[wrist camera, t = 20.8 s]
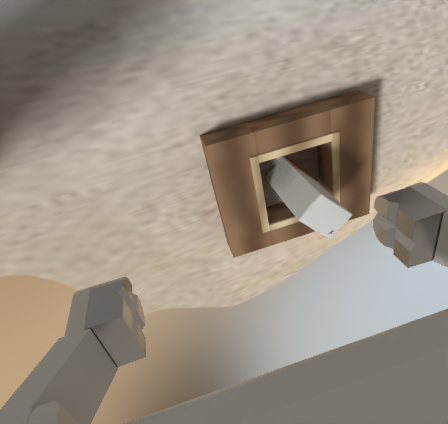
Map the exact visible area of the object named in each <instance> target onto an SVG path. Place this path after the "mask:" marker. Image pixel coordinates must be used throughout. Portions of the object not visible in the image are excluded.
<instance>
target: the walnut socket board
mask: <svg viewBox="0 0 448 424" xmlns="http://www.w3.org/2000/svg"><path fill="white" fill-rule="evenodd" d="M374 112H375V97H374V96H371V95H368V94H366V93H363V92H360V91H358V90H356V91H353V92H349V93H346V94H343V95H339V96H336V97H332V98H329V99H325V100H322V101H318V102H315V103H311V104H308V105H304V106H301V107H297V108H294V109H291V110H287V111H284V112H280V113H277V114H273V115H270V116H266V117H263V118H259V119H256V120H252V121H249V122H245V123H242V124H239V125H235V126H232V127H228V128H225V129H221V130H218V131H214V132H211V133H207V134H204V135H200V139H201V142H202V146H203V150H204V154H205V158H206V162H207V166H208V169H209V173H210V177H211V181H212V185H213V189H214V193H215V196H216V200H217V204H218V208H219V212H220V216H221V220H222V223H223V227H224V231H225V235H226V239H227V242H228V245H229V247H230V250H231V252H232V255H233V257H237V256H240V255H243V254H246V253H250V252H253V251H256V250H259V249H262V248H265V247H268V246H271V245H274V244H277V243H280V242H283V241H287V240H290V239H293V238H296V237H299V236H302V235H305V234H308V233H311V232H314V230H313V229H312V228H310V227H308V226H307V225H305V224H303V223H302V222H300V221H299V220H298V219H297V218H296V217H295V215H294V214H293V213H292V212H291V210H290V209H289V208H288V207H287V205H286V204H285V203H281V204H278V205H274V206H271V207H268V208H266V204H265V197H264V191H263V185H262V179H261V173H260V166H259V163H261V162H265V161H268V160H271V159H275V158H278V157H281V156H285V155H288V154H291V153H295V152H298V151H301V150H304V149H308V148H311V147H314V146H318V165H319V184H320V185H321V186H322V187H324V188H325V189H326V190H327V191H328V192H329V193H330V194H331V195H332V196H333V197H334V198H335V199H337V200H338V201H339V202H340V203H341V204H342V205H343V206H344V207H345V208H346V209H347V210H348V211H349V212H351V213H352V216H351V217H350V219H349V220H351V219H355V218H358V217H361V216H364V215H367V214H369V208H370V189H371V169H372V150H373V131H374Z"/></svg>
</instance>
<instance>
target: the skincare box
mask: <svg viewBox="0 0 448 424" xmlns="http://www.w3.org/2000/svg"><path fill="white" fill-rule="evenodd" d="M265 179H266V180H267V182H268V183H269V184H270V185H271V187H272V188H273V189H274V190H275V192H276V193H277V194H278V195H279V197H280V198H281V199H282V200H283V202H284V203H285V204H286V205H287V207H288V208H289V209H290V210H291V212H292V213H293V214H294V215H295V217H296V218H297V219H298V220H299V221H300V222H302V223H303V224H305V225H307V226H308V227H310V228H312V229H313V230H314V231H316V232H318V233H320V234H322V235H323V236H325V237H327V238H329V239H331V238H332V237H333V236H334V235H335V234H336V233H337V232H338V231H339V229H340V228H341V227H342V226H343V225H344V224H345V223H346V222H347V221H348V220H349V219H350V217H351V216H352V213H351V212H349V211H348V210H347V209H346V208H345V207H344V206H343V205H342V204H341V203H340V202H339V201H338V200H337V199H335V198H334V197H333V196H332V195H331V194H330V193H329V192H328V191H327V190H326V189H325V188H324V187H322V186H321V185H320V184H319V183H318V182H317V181H316V180H315V179H314V178H313V177H312V176H311V175H309V174H308V173H306V172H305V171H303V170H302V169H300V168H299V167H297V166H296V165H294V164H293V163H292V162H290V161H289V160H288V159H286V158H285V157H284V156H282V157H281V158H280V159H279V160H278V162H277V163H276V164H275V166H274V167H273V168H272V169H271V171H270V172H269V173H268V175H267V176H266V177H265Z"/></svg>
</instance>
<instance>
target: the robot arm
mask: <svg viewBox="0 0 448 424" xmlns="http://www.w3.org/2000/svg"><path fill="white" fill-rule="evenodd" d="M374 208H375V210H376V211H377V212H378V213H377V215H376V216H375V218H374V219H373V228H374V231H375V234H376V236H377V238H378V239H379V241H380V242H381V243H382V244H383V245H384V246H387V247H390V248H393V250H394V255H395V256H396V257H397V258H398V259H399V260H400V261H401V262H402V263H403V264H404V265H406V266H407V267H408V268H409V267H412V266H416V265H419V264H422V263H425V262H429V261H432V260H434V262H437V263H439V264H441V265H444V266H446V267H448V196H447V195H445V194H443V193H441V192H440V191H438V190H436V189H435V188H433V187H431V186H430V185H428V184H426V183H422V182H420V183H417V184H414V185H411V186H408V187H406V188H403V189H400V190H397V191H394V192H391V193H388V194H385V195H382V196H379V197H377V198H376V200H375V203H374ZM144 326H145V320H144V313H143V308H142V305H141V303H140V300H139V298H138V296H137V295H135V294H133V293H132V285H131V283H130V281H129V279H128V278H127V277H123V278H119V279H116V280H112V281H109V282H106V283H102V284H99V285H95V286H93V287H89V288H86V289H83V290H79V291H76V292H75V294H74V295H73V299H72V304H71V308H70V313H69V318H68V323H67V327H66V332H65V337H62V338H59V340H58V341H57V342H56V343H55V344H54V346H53V347H52V348H51V349H50V350H49V352H48V353H47V354H46V355H45V356H44V358H43V359H42V360H41V361H40V362H39V364H38V365H37V366H36V367H35V368H34V370H33V371H32V372H31V373H30V375H29V376H28V377H27V378H26V380H25V381H24V382H23V383H22V384H21V385H20V387H19V388H18V389H17V390H16V391H15V393H14V394H13V395H12V396H11V397H10V399H9V400H8V401H7V402H6V403H5V405H4V406H3V407H2V409H1V410H0V424H91V422H92V420H93V418H94V416H95V414H96V412H97V410H98V408H99V406H100V404H101V402H102V400H103V398H104V396H105V394H106V392H107V390H108V388H109V386H110V384H111V382H112V380H113V378H114V376H115V374H116V372H117V370H118V368H117V367H120V366H123V365H125V364H128V363H130V362H133V361H136V360H139V359H141V358H144V357H146V342H145V336H144V334H143V332H142V329H143V327H144ZM125 424H448V309H446V310H443V311H440V312H438V313H435V314H432V315H429V316H426V317H423V318H421V319H418V320H415V321H412V322H409V323H407V324H404V325H401V326H398V327H395V328H392V329H390V330H387V331H384V332H381V333H378V334H376V335H373V336H370V337H367V338H364V339H361V340H359V341H356V342H353V343H350V344H347V345H345V346H342V347H339V348H336V349H333V350H330V351H328V352H325V353H322V354H319V355H317V356H314V357H311V358H308V359H305V360H302V361H299V362H297V363H294V364H291V365H288V366H285V367H283V368H280V369H277V370H274V371H271V372H268V373H265V374H263V375H260V376H257V377H254V378H251V379H249V380H246V381H243V382H240V383H237V384H235V385H232V386H229V387H226V388H224V389H220V390H218V391H215V392H212V393H209V394H207V395H204V396H201V397H198V398H195V399H192V400H189V401H187V402H184V403H181V404H178V405H175V406H173V407H170V408H167V409H164V410H161V411H158V412H156V413H153V414H150V415H147V416H144V417H142V418H139V419H136V420H133V421H130V422H128V423H125Z"/></svg>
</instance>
